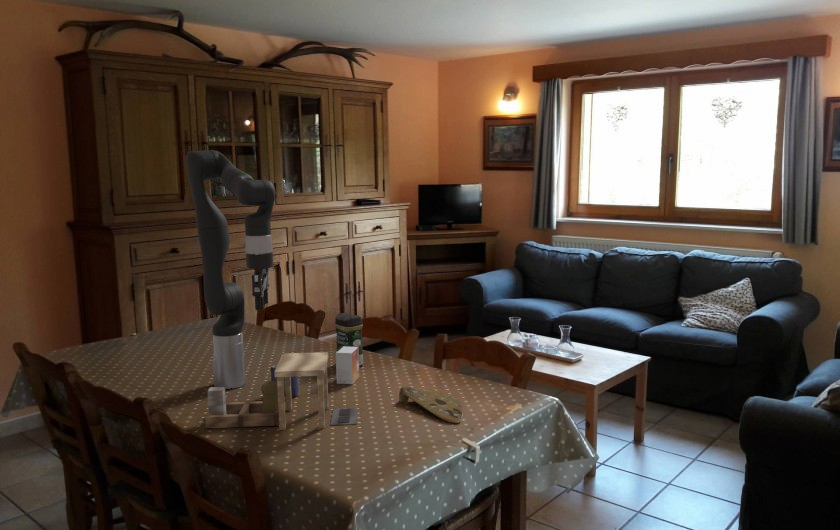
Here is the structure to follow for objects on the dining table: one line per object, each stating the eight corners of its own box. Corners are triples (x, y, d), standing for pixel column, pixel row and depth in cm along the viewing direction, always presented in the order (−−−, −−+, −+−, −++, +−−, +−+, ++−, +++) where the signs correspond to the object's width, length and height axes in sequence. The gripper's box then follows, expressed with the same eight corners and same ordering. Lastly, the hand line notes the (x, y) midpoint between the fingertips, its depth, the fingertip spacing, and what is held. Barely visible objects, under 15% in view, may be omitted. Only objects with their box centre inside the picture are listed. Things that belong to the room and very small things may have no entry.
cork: (259, 418, 188) (257, 380, 186) (280, 414, 190) (279, 377, 188) (262, 425, 182) (260, 387, 180) (285, 422, 184) (283, 384, 183)
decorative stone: (395, 401, 199) (398, 385, 199) (436, 398, 208) (439, 383, 208) (445, 437, 180) (449, 420, 179) (487, 432, 189) (491, 415, 188)
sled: (206, 428, 180) (203, 396, 178) (215, 413, 191) (213, 382, 189) (279, 425, 181) (277, 393, 180) (284, 410, 192) (283, 380, 191)
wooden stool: (277, 431, 178) (274, 371, 176) (285, 408, 195) (282, 353, 193) (356, 427, 180) (354, 368, 177) (357, 405, 196) (355, 351, 194)
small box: (352, 385, 215) (351, 353, 213) (336, 384, 216) (335, 352, 214) (360, 377, 223) (359, 346, 221) (343, 376, 224) (342, 345, 222)
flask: (300, 394, 206) (299, 361, 205) (296, 398, 204) (295, 364, 202) (273, 392, 209) (272, 359, 207) (269, 395, 206) (267, 362, 204)
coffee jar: (332, 364, 237) (330, 313, 234) (350, 360, 242) (348, 310, 240) (349, 370, 230) (348, 317, 227) (367, 365, 236) (366, 314, 233)
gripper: (250, 248, 196) (253, 302, 198) (240, 254, 182) (244, 312, 184) (276, 247, 196) (278, 301, 199) (268, 253, 182) (271, 312, 185)
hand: (262, 306), depth 192 cm, fingers open, 8 cm apart
